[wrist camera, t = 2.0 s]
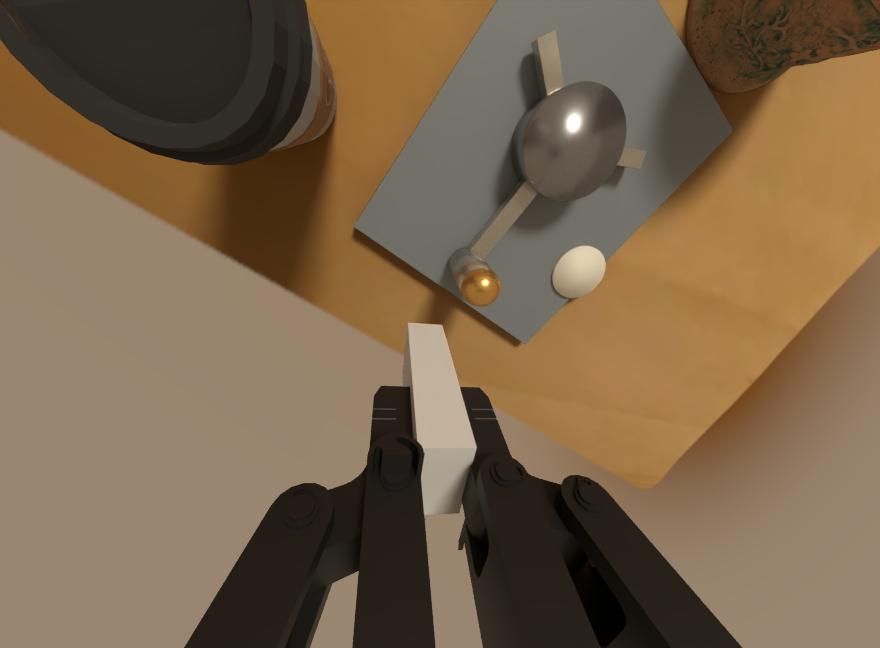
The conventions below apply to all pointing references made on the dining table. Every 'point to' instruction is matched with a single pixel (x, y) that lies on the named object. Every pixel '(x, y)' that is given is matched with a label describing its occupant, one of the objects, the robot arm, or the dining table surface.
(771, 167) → the dining table surface
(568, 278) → the stand plate
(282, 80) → the coffee cup
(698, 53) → the mug
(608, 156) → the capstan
